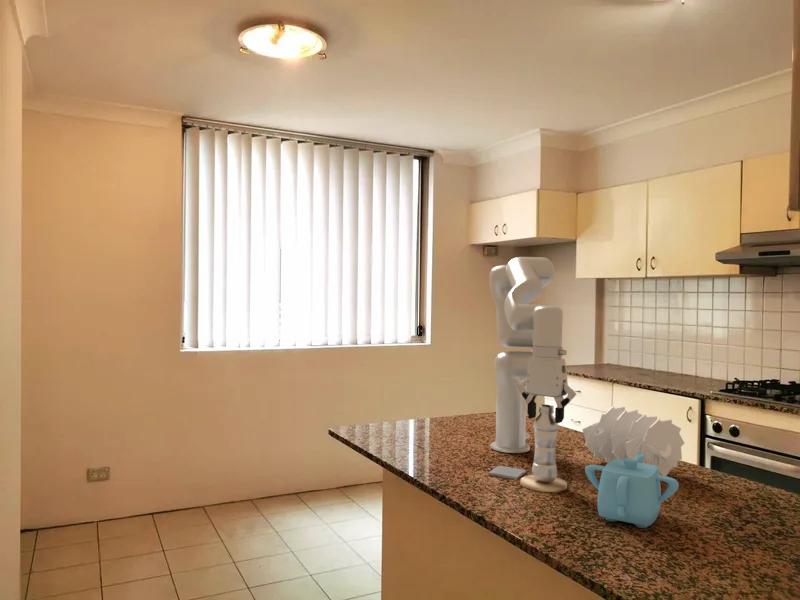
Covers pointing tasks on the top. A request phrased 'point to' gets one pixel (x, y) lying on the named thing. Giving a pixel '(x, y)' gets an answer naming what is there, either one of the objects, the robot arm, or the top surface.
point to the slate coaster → (507, 472)
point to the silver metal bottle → (545, 445)
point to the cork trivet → (543, 484)
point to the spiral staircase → (635, 438)
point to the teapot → (630, 490)
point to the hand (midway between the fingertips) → (545, 419)
